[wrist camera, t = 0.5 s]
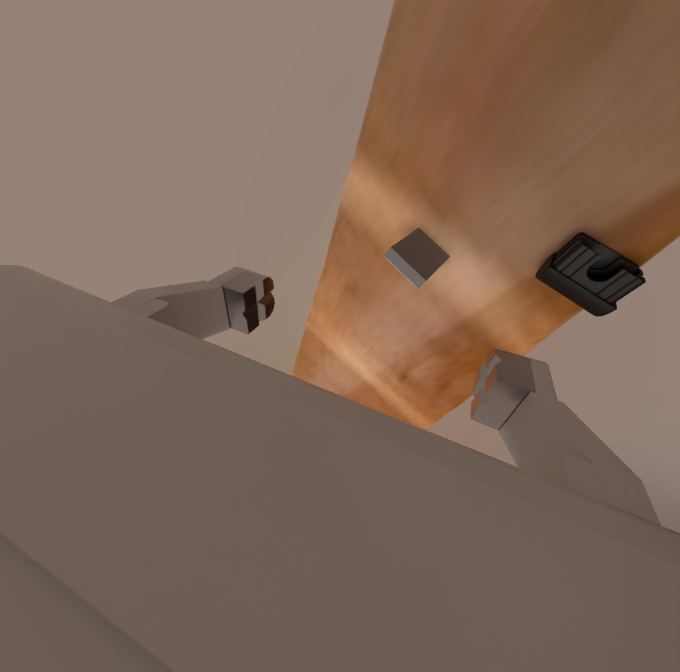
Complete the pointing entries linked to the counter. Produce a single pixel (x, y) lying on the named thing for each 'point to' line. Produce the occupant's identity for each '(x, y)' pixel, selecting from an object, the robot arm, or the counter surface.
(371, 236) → the counter surface
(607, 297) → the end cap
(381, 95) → the counter surface
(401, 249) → the slate tile
